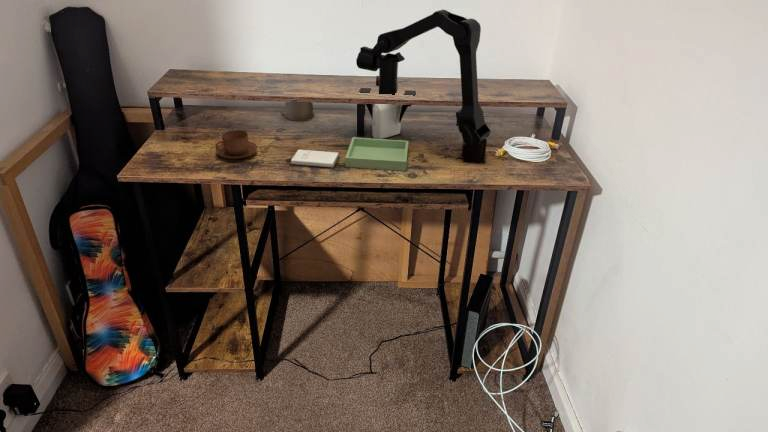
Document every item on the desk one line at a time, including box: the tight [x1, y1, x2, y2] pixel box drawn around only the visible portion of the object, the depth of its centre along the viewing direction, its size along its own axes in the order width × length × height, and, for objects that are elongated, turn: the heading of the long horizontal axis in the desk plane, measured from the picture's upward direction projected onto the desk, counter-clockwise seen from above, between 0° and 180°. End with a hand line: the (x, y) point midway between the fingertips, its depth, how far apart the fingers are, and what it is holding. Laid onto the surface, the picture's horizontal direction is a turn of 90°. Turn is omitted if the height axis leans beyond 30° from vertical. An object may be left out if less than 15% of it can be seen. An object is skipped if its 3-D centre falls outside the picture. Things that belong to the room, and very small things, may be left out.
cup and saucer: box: [215, 129, 258, 160], centre depth 152 cm, size 12×12×6 cm
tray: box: [344, 136, 409, 172], centre depth 154 cm, size 18×16×3 cm
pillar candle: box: [284, 101, 314, 122], centre depth 180 cm, size 10×10×15 cm
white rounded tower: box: [371, 103, 402, 139], centre depth 167 cm, size 10×4×12 cm, turn 129°
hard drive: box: [290, 149, 340, 169], centre depth 151 cm, size 2×8×12 cm
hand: (386, 121), depth 168 cm, fingers closed on white rounded tower, 8 cm apart
